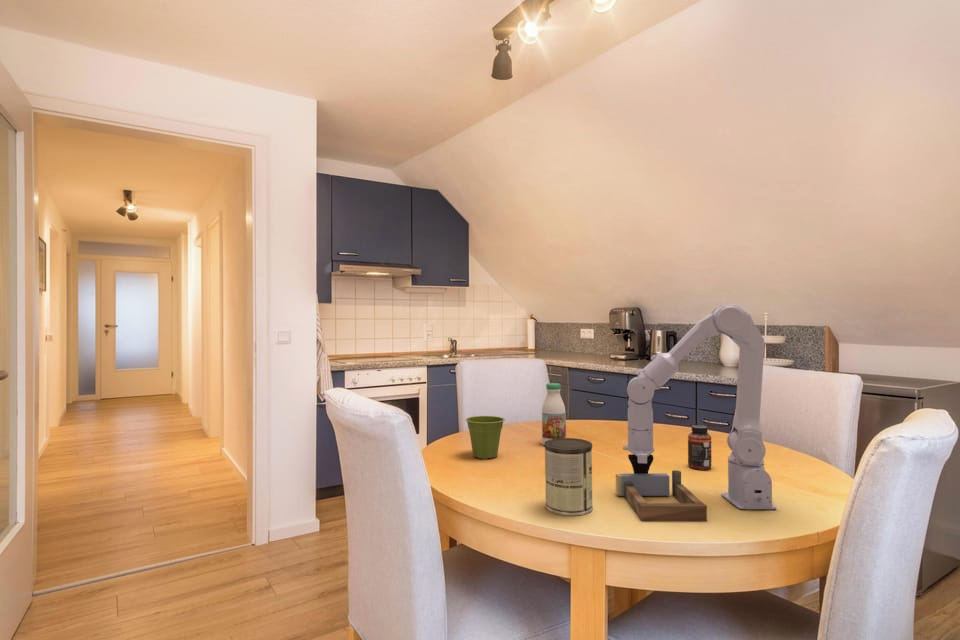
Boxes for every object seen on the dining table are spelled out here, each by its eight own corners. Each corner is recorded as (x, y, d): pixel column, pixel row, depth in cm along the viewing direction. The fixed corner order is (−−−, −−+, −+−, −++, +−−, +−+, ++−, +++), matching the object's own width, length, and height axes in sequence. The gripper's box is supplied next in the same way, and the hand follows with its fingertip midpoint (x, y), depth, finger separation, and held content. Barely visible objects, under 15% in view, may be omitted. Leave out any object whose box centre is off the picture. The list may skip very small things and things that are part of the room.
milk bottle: (537, 443, 175) (537, 383, 175) (557, 441, 178) (556, 381, 178) (550, 449, 168) (549, 385, 168) (570, 446, 171) (570, 384, 171)
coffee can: (541, 499, 121) (541, 438, 121) (586, 499, 121) (586, 437, 121) (549, 516, 111) (548, 449, 111) (598, 515, 111) (597, 448, 111)
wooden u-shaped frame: (707, 520, 108) (707, 493, 108) (641, 520, 108) (641, 493, 108) (679, 493, 124) (679, 470, 124) (622, 493, 125) (622, 470, 125)
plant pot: (511, 459, 156) (511, 420, 156) (474, 463, 152) (473, 424, 152) (495, 449, 167) (495, 414, 167) (460, 453, 163) (459, 417, 163)
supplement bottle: (713, 471, 142) (713, 428, 142) (690, 470, 144) (690, 428, 144) (708, 465, 148) (708, 424, 148) (686, 464, 149) (686, 423, 149)
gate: (666, 492, 124) (666, 473, 124) (669, 495, 122) (669, 475, 122) (615, 492, 125) (615, 473, 125) (618, 495, 123) (617, 476, 123)
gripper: (622, 421, 133) (622, 475, 133) (623, 434, 119) (624, 494, 119) (651, 422, 132) (652, 477, 132) (656, 435, 118) (657, 496, 118)
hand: (640, 485), depth 125 cm, fingers closed, pressing on gate
